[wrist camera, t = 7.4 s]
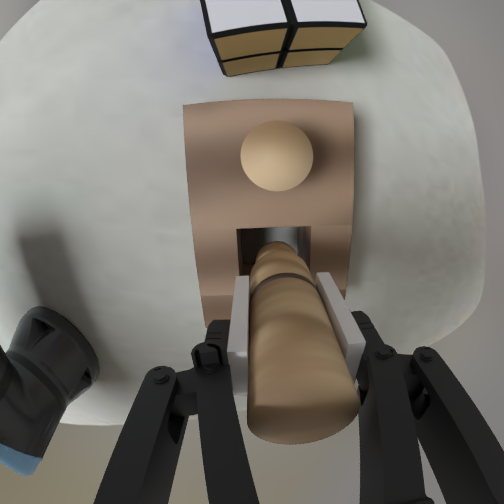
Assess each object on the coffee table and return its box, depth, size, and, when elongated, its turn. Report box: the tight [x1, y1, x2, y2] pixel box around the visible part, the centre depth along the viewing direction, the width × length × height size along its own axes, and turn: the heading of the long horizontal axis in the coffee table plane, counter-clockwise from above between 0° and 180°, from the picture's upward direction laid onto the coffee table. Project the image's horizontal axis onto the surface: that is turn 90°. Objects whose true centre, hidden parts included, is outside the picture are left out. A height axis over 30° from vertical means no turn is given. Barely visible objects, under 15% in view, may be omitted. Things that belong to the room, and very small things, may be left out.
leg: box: [247, 241, 360, 445], centre depth 15 cm, size 4×4×14 cm
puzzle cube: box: [200, 0, 367, 77], centre depth 14 cm, size 10×10×10 cm
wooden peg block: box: [183, 99, 354, 328], centre depth 21 cm, size 18×12×10 cm, turn 2°
